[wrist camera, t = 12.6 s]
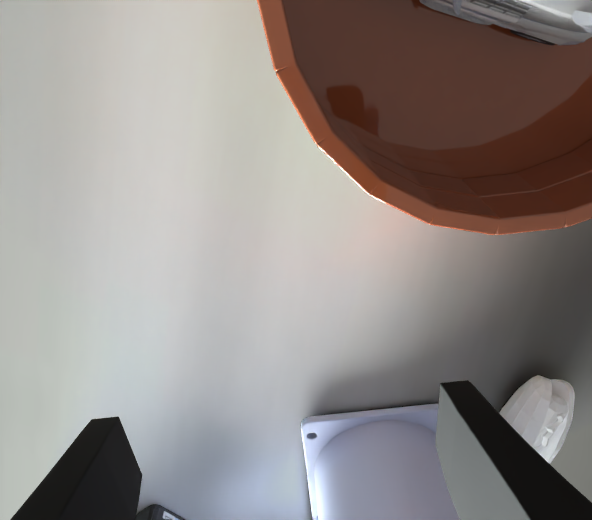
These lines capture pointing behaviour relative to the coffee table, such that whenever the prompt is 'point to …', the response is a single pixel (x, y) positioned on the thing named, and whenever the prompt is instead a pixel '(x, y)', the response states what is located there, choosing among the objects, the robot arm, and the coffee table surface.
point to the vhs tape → (157, 514)
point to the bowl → (441, 111)
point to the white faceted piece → (541, 413)
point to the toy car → (527, 17)
